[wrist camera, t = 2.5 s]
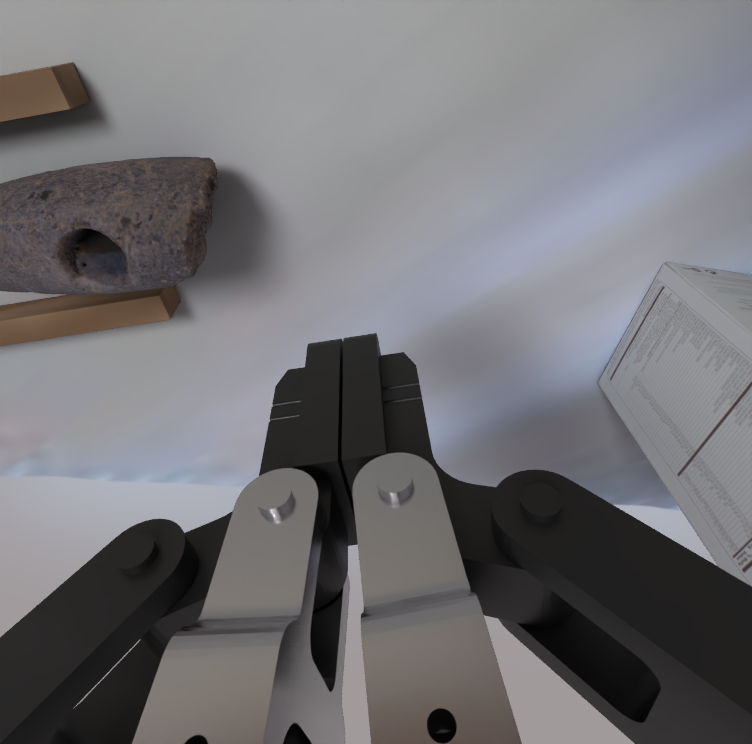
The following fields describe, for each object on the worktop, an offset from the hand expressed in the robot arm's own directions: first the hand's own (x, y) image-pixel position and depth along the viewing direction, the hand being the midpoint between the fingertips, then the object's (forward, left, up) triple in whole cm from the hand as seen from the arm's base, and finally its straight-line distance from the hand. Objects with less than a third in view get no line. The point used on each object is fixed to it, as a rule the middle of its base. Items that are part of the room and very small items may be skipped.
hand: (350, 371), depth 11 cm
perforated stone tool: (0, -13, -17) cm, 22 cm away
